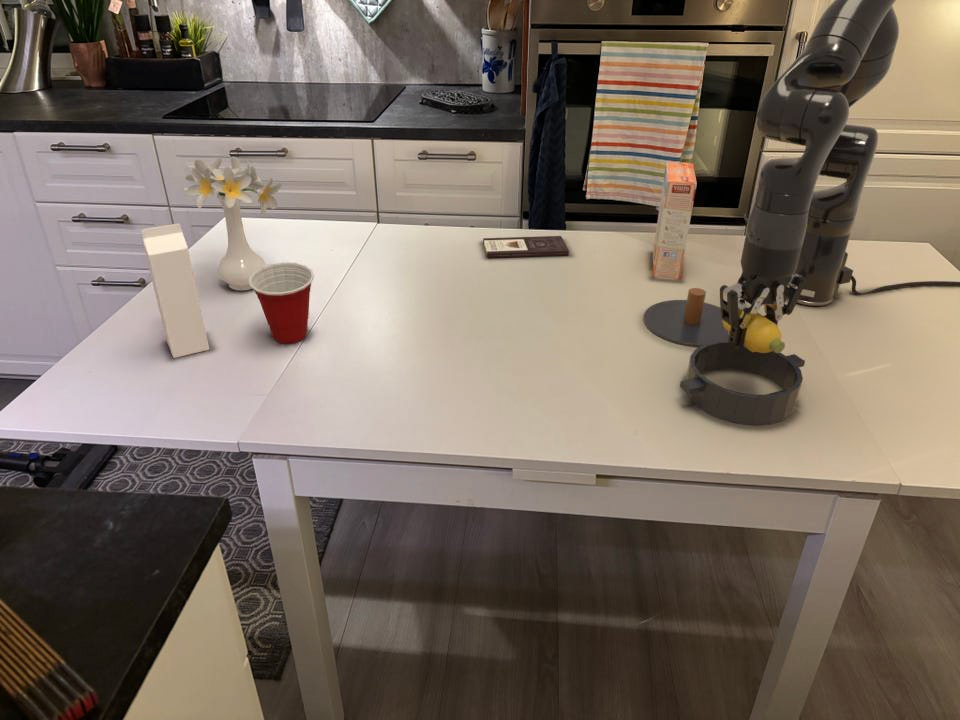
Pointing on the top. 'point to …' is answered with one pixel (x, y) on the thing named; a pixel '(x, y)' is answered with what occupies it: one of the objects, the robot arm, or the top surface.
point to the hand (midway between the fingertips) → (750, 342)
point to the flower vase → (233, 213)
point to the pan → (742, 404)
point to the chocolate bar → (525, 246)
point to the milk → (175, 289)
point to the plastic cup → (284, 299)
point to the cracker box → (673, 219)
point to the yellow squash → (761, 335)
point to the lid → (687, 320)
